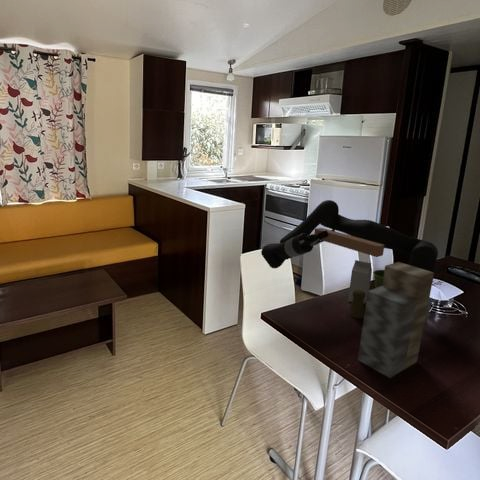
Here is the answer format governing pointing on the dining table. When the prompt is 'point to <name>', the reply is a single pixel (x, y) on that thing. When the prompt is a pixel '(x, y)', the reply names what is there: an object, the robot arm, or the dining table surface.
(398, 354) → the stepped stand
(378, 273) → the plant pot
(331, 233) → the block
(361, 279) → the milk carton
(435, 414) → the dining table surface
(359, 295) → the olive cylinder
